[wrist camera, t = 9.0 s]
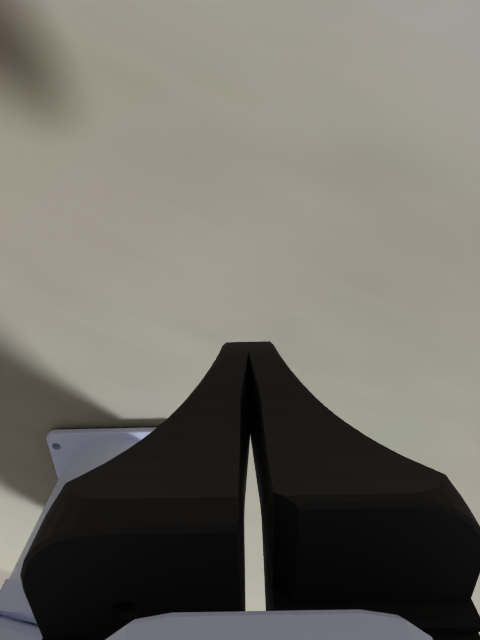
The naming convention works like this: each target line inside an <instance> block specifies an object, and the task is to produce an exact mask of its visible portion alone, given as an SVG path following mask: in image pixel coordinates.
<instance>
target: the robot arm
mask: <svg viewBox="0 0 480 640" xmlns="http://www.w3.org/2000/svg"><path fill="white" fill-rule="evenodd" d="M250 435H251V442H252V449H253V456H254V463H255V470H256V477H257V484H258V491H259V498H260V506H261V516H262V534H263V555H264V576H265V598H266V611H245V553H244V506H245V492H246V479H247V467H248V455H249V442H250ZM46 440H47V443H48V447H49V450H50V454H51V457H52V460H53V464H54V467H55V471H56V474H57V477H58V481H57V483H56V485H55V487H54V489H53V491H52V493H51V495H50V497H49V499H48V501H47V503H46V505H45V507H44V509H43V511H42V513H41V515H40V517H39V519H38V521H37V523H36V525H35V527H34V529H33V531H32V533H31V535H30V537H29V539H28V541H27V543H26V545H25V547H24V550H23V552H22V554H21V556H20V558H19V560H18V562H17V564H16V566H15V568H14V570H13V572H12V574H11V576H10V578H9V579H6V580H5V582H4V584H3V586H2V588H1V590H0V640H480V635H479V633H478V632H480V616H479V614H478V612H477V610H476V608H475V606H474V604H473V602H472V600H471V596H472V594H473V591H474V588H475V585H476V582H477V579H478V577H479V574H480V526H479V524H478V522H477V521H476V519H475V517H474V516H473V514H472V512H471V510H470V509H469V507H468V506H467V504H466V503H465V501H464V500H463V498H462V497H461V495H460V494H459V492H458V491H457V490H456V488H455V487H454V486H453V485H452V483H451V482H450V480H449V479H448V477H447V476H446V475H445V474H443V473H440V472H438V471H436V470H433V469H431V468H429V467H427V466H424V465H422V464H420V463H417V462H415V461H413V460H411V459H408V458H406V457H404V456H402V455H400V454H398V453H396V452H394V451H392V450H390V449H388V448H387V447H385V446H383V445H381V444H379V443H377V442H376V441H374V440H372V439H371V438H369V437H367V436H365V435H364V434H362V433H361V432H359V431H358V430H356V429H355V428H353V427H352V426H350V425H349V424H347V423H346V422H344V421H343V420H342V419H340V418H339V417H338V416H336V415H335V414H334V413H333V412H331V411H330V410H329V409H328V408H327V407H325V406H324V405H323V404H322V403H321V402H320V401H319V400H318V399H317V398H315V396H314V395H313V394H312V393H311V392H310V391H309V390H308V389H307V388H306V387H305V386H304V385H303V384H302V383H301V382H300V381H299V379H298V378H297V377H296V376H295V375H294V373H293V372H292V371H291V370H290V369H289V367H288V366H287V365H286V363H285V362H284V360H283V359H282V358H281V356H280V355H279V353H278V352H277V350H276V348H275V347H274V345H273V344H272V343H271V342H230V343H225V344H224V345H223V346H222V348H221V351H220V353H219V355H218V356H217V358H216V360H215V361H214V363H213V365H212V366H211V368H210V369H209V371H208V372H207V374H206V375H205V377H204V378H203V379H202V381H201V382H200V383H199V385H198V386H197V387H196V388H195V390H194V391H193V392H192V393H191V394H190V396H189V397H188V398H187V399H186V400H185V401H184V403H183V404H182V405H181V406H180V407H179V408H178V409H177V410H176V411H175V412H174V413H173V414H172V415H171V416H170V417H169V418H168V419H167V420H165V421H164V422H163V423H162V424H161V425H160V426H158V427H155V428H108V429H62V430H51V431H50V432H49V434H48V435H47V437H46ZM55 443H57V444H59V445H57V444H55Z"/></svg>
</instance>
